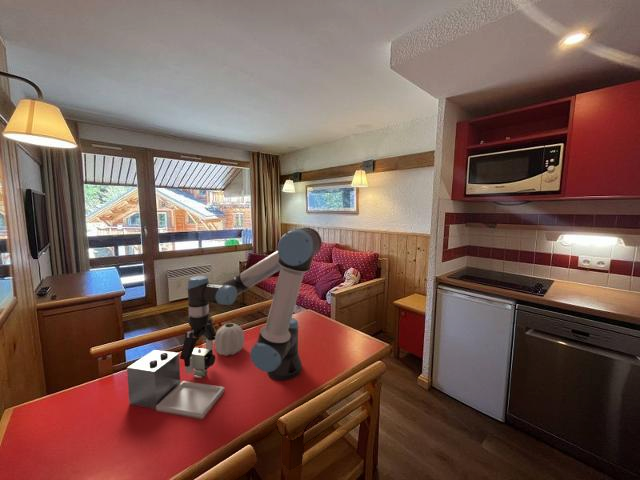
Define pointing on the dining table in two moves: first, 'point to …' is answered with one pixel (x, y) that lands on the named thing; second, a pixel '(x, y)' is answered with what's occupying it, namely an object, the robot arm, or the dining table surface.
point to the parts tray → (191, 399)
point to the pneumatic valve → (202, 361)
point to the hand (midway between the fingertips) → (199, 362)
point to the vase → (229, 339)
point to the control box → (153, 378)
